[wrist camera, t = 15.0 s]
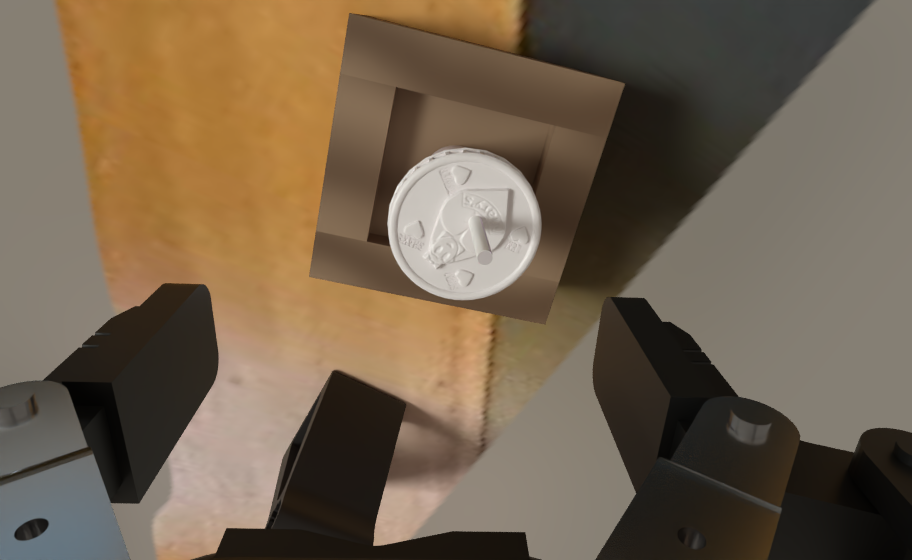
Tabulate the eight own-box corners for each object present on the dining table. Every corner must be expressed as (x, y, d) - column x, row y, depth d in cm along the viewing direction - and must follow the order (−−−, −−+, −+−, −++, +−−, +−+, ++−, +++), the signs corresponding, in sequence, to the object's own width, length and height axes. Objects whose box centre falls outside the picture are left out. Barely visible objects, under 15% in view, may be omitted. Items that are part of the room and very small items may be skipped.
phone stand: (334, 368, 43) (297, 486, 32) (406, 402, 44) (396, 527, 33) (283, 455, 46) (233, 591, 35) (352, 484, 47) (326, 624, 36)
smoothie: (535, 179, 33) (605, 268, 20) (453, 255, 35) (469, 384, 22) (456, 93, 31) (476, 132, 18) (372, 178, 33) (338, 269, 20)
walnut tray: (364, 15, 34) (349, 12, 28) (593, 73, 36) (625, 83, 30) (328, 238, 40) (309, 276, 34) (529, 281, 41) (545, 324, 35)
